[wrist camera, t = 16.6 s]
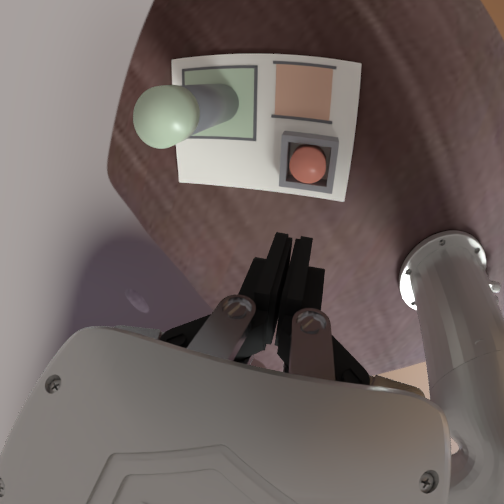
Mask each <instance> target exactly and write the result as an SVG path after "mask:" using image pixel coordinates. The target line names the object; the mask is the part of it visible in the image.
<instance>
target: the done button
mask: <svg viewBox="0 0 504 504" xmlns="http://www.w3.org/2000/svg"><path fill="white" fill-rule="evenodd" d="M289 167H290V171H291V174H292V175H293V176H294V178H295V179H297V180H298V181H300V182H303V183H315V182H317V181H319V180H320V179H321V178H322V177H323V176H324V174H325V170H326V156H325V153H324V151H323V150H322V149H321V148H320V147H319V146H317V145H310V144H301V145H299V146H298V147H297V148H296V149H295V151H294V153H293V155H292V157H291V160H290V164H289Z"/></svg>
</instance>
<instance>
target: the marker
mask: <svg viewBox="0 0 504 504" xmlns="http://www.w3.org/2000/svg"><path fill="white" fill-rule="evenodd" d="M238 107H239V99H238V96H237V94H236V92H235V91H234V90H233V89H232V88H231V87H230V86H228V85H225V84H197V85H181V86H179V85H165V86H156V87H153V88H150V89H148V90H147V91H145V92H144V93H143V94H142V95H141V96H140V97H139V99H138V101H137V102H136V105H135V108H134V113H133V122H134V126H135V130H136V132H137V134H138V135H139V137H140V138H141V139H142V140H143V141H144V142H145V143H146V144H148V145H149V146H151V147H154V148H160V149H161V148H168V147H171V146H173V145H175V144H177V143H179V142H182V141H184V140H186V139H187V138H189V137H190V136H192V135H194V134H196V133H199V132H201V131H203V130H206V129H208V128H211V127H213V126H216V125H218V124H221V123H223V122H226V121H228V120H230V119H231V118H233V117H234V115H235V114H236V112H237V110H238Z"/></svg>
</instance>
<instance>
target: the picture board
mask: <svg viewBox="0 0 504 504" xmlns="http://www.w3.org/2000/svg"><path fill="white" fill-rule="evenodd" d="M361 65H362V64H361V63H356V62H350V61H344V60H337V59H330V58H322V57H313V56H302V55H288V54H223V55H208V56H197V57H188V58H180V59H173V60H172V85H179V86H181V85H197V84H225V85H228V86H230V87H231V88H232V89H233V90H234V91H235V92H236V94H237V96H238V99H239V107H238V110H237V112H236V114H235V115H234V117H233V118H231V119H230V120H228V121H226V122H223V123H221V124H218V125H216V126H213V127H211V128H208V129H206V130H203V131H201V132H199V133H196V134H194V135H192V136H190V137H189V138H187V139H186V140H184V141H182V142H179V143H177V144H176V153H177V164H178V174H179V182H183V183H196V184H208V185H219V186H229V187H239V188H248V189H257V190H266V191H274V192H281V193H289V194H296V195H303V196H310V197H317V198H323V199H329V200H336V201H342V202H344V200H345V194H346V189H347V183H348V177H349V171H350V164H351V158H352V151H353V144H354V136H355V129H356V120H357V111H358V102H359V91H360V79H361ZM301 144H310V145H317V146H319V147H320V148H321V149H322V150H323V151H324V153H325V156H326V170H325V174H324V176H323V177H322V178H321V179H320V180H319V181H317V182H315V183H303V182H300V181H298V180H297V179H295V178H294V176H293V175H292V174H291V171H290V167H289V164H290V160H291V157H292V155H293V153H294V151H295V149H296V148H297V147H298V146H299V145H301Z"/></svg>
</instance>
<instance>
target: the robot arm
mask: <svg viewBox="0 0 504 504" xmlns="http://www.w3.org/2000/svg"><path fill="white" fill-rule="evenodd" d="M312 240H313V238H309V237H303V236H301V239H296V240H295V245H294V249H293V253H292V257H291V261H290V255H291V247H292V238H289V237H288V234H284V233H278V232H276V234H275V237H274V240H273V243H272V245H271V248H270V251H269V253H268V256H267V259H263V258H257V257H255V258H254V259H253V262H252V264H251V266H250V269H249V271H248V273H247V275H246V278H245V280H244V282H243V285H242V287H241V289H240V292H239V294H238V295H230V296H227V297H225V298H224V299H222V300H221V301H220V303H219V304H218V305H217V307H216V308H215V310H214V311H213V312H212V314H210V315H208V316H205V317H202V318H199V319H197V320H194V321H191V322H189V323H186V324H183V325H181V326H178V327H175V328H172V329H170V330H168V331H166V332H165V333H164V332H161V330H158V329H147V328H139V327H130V326H115V327H106V326H94V327H87V328H84V329H81V330H79V331H77V332H76V333H74V334H73V335H72V336H71V337H70V338H69V339H68V340H67V341H66V342H65V343H64V345H63V346H62V347H61V348H60V349H59V351H58V352H57V353H56V355H55V356H54V357H53V359H52V360H51V362H50V363H49V364H48V366H47V367H46V369H45V370H44V372H43V373H42V375H41V376H40V378H39V380H38V381H37V383H36V384H35V386H34V388H33V389H32V391H31V393H30V395H29V396H28V398H27V400H26V402H25V403H24V405H23V407H22V409H21V411H20V413H19V415H18V417H17V419H16V421H15V423H14V425H13V427H12V429H11V431H10V433H9V435H8V438H7V440H6V443H5V445H4V447H3V450H2V452H1V455H0V504H504V317H503V315H502V312H501V310H500V308H499V305H498V297H497V296H496V295H494V294H493V292H495V293H498V292H499V291H500V287H501V285H500V283H499V282H495V281H490V280H489V278H488V276H487V274H486V272H485V270H486V256H485V252H484V250H483V248H482V246H481V245H480V243H479V242H478V240H477V239H476V238H474V237H473V236H472V235H470V234H468V233H466V232H462V231H456V230H450V231H444V232H440V233H437V234H434V235H432V236H430V237H428V238H427V239H425V240H423V241H422V242H421V243H419V244H418V245H417V246H416V247H415V248H414V249H413V250H412V251H411V252H410V253H409V255H408V256H407V257H406V259H405V260H404V262H403V265H402V267H401V269H400V274H399V288H400V293H401V295H402V298H403V299H404V301H405V303H406V304H407V305H408V306H410V307H411V308H413V309H415V310H417V314H418V318H419V323H420V328H421V334H422V339H423V345H424V351H425V358H426V365H427V372H428V380H429V390H430V400H429V399H427V398H425V395H424V393H423V392H422V391H421V390H420V389H419V388H417V387H414V386H411V385H407V384H404V383H401V382H397V381H394V380H391V379H388V378H385V377H381V376H378V375H376V376H375V377H373V376H370V375H369V374H368V373H367V371H366V370H365V369H364V368H363V367H362V366H361V365H360V364H359V362H358V361H357V360H356V359H355V358H354V357H353V356H352V355H351V354H350V353H349V352H348V351H347V350H346V349H345V348H344V347H343V346H342V345H341V344H340V343H339V342H338V341H337V340H336V339H335V338H334V337H333V336H332V334H331V324H330V320H329V318H328V317H327V315H326V314H325V313H323V312H322V311H321V303H322V294H323V284H324V274H325V269H321V268H315V267H309V260H310V253H311V247H312ZM289 263H290V265H289ZM277 321H278V325H277ZM276 325H277V332H276V340H275V345H276V346H278V352H277V354H278V355H279V356H280V358H281V359H282V360H283V361H284V364H283V372H280V371H275V370H270V369H265V368H260V367H256V366H251V365H250V363H251V362H252V360H253V357H254V354H256V353H258V352H260V351H262V350H265V347H266V344H271V343H272V339H273V336H274V332H275V328H276ZM450 437H451V438H452V439H453V440H454V441H456V443H457V444H458V446H459V450H458V451H457V452H456V453H455V454H452V455H451V440H450Z"/></svg>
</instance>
